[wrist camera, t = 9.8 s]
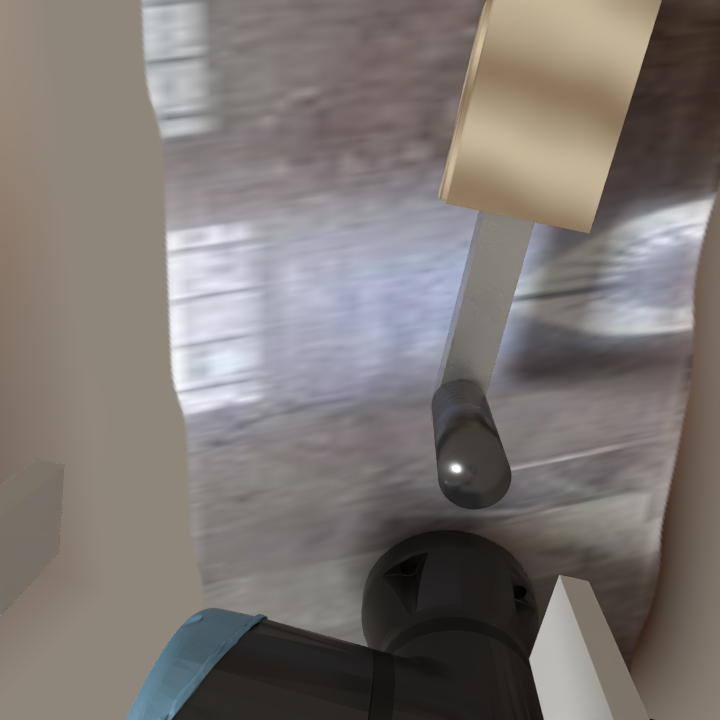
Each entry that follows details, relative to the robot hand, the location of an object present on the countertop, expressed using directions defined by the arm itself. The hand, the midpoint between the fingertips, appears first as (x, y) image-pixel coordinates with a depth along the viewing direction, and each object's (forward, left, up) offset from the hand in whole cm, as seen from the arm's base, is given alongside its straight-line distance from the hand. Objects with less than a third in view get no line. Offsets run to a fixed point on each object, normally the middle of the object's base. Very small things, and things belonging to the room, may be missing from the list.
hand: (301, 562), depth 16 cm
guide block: (+15, -7, -33) cm, 37 cm away
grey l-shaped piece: (+7, -7, -27) cm, 29 cm away
